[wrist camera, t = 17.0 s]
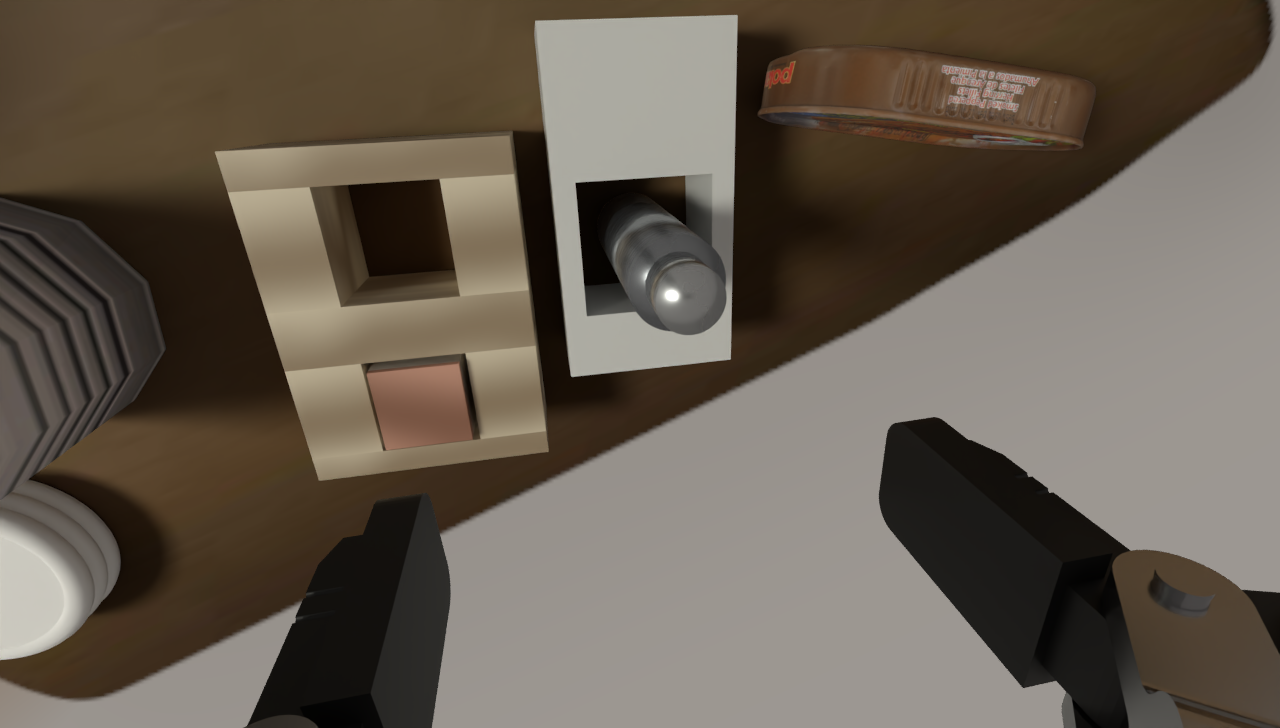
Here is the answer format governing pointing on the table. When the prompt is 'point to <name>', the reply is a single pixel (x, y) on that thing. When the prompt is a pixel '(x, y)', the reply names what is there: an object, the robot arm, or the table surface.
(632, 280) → the stepped metal cylinder
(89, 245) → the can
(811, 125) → the tin
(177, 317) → the table surface
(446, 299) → the socket block
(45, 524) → the white round container
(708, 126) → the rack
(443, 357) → the key
